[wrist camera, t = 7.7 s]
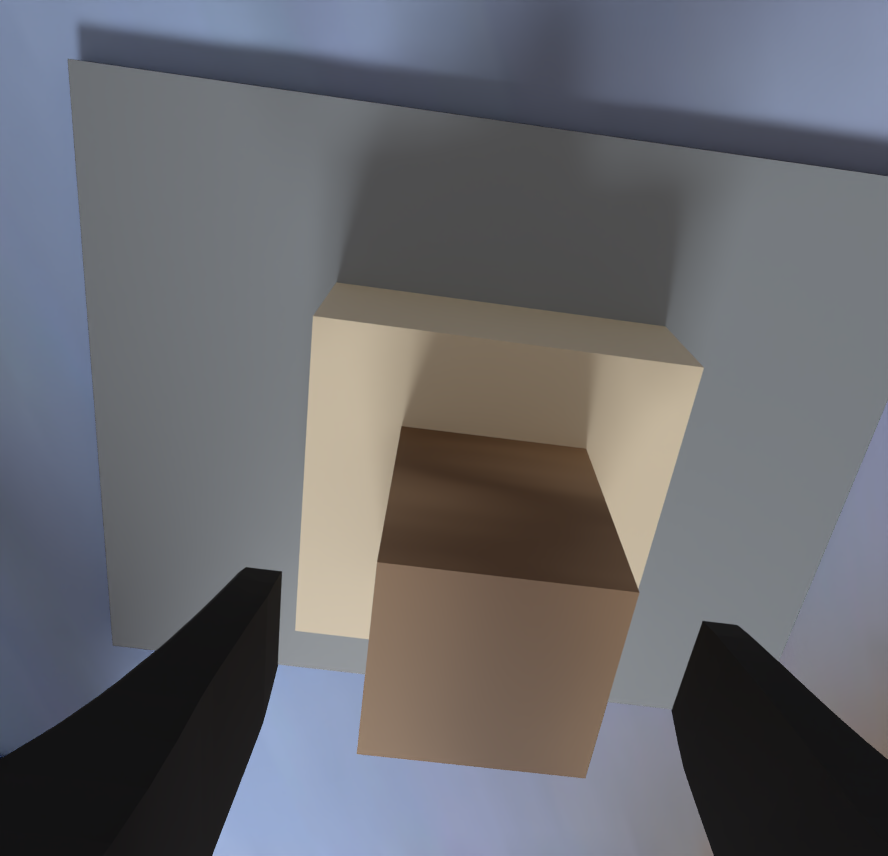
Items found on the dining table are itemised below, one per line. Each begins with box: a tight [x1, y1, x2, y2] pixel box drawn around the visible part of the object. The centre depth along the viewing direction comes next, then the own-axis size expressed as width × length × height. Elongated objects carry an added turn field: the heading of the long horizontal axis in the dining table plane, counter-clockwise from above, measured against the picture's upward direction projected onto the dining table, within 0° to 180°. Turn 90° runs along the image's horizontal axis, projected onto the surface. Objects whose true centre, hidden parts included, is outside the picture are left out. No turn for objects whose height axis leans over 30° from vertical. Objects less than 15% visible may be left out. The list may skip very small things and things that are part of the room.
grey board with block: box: [68, 59, 888, 709], centre depth 18 cm, size 20×16×4 cm
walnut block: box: [357, 426, 640, 778], centre depth 14 cm, size 4×4×5 cm
